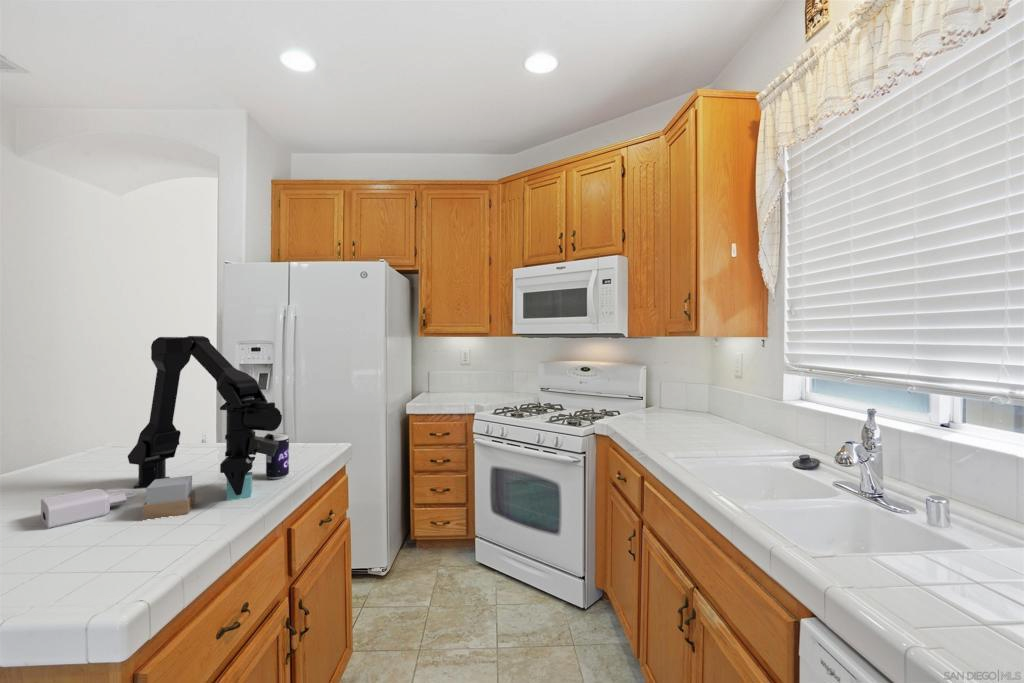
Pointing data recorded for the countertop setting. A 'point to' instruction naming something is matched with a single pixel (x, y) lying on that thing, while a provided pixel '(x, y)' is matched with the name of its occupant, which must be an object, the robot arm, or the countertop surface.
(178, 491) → the tower top
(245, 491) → the teal cube
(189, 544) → the countertop surface
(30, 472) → the countertop surface
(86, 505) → the charger
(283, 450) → the beverage can
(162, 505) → the tower base
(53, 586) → the countertop surface
